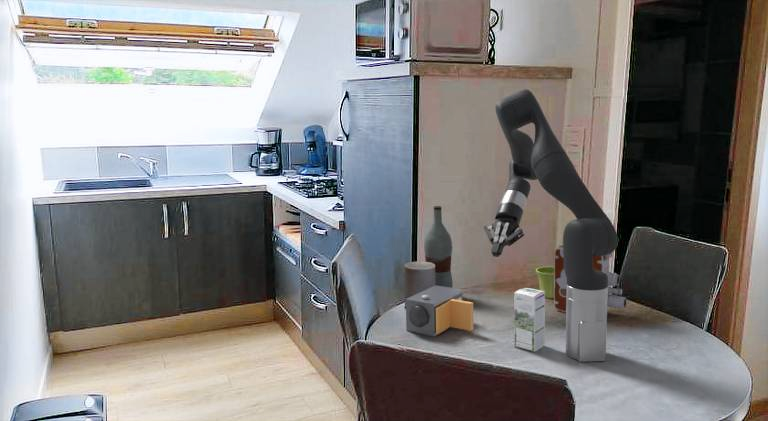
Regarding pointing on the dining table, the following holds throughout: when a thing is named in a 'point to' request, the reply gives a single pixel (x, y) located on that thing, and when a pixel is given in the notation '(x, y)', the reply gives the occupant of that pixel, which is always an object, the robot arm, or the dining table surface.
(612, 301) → the cine camera
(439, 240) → the bottle
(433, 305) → the block
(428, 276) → the pillar candle
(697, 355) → the dining table surface
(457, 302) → the orange l-shaped bracket
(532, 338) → the syrup box
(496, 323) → the dining table surface
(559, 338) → the dining table surface
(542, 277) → the plant pot
